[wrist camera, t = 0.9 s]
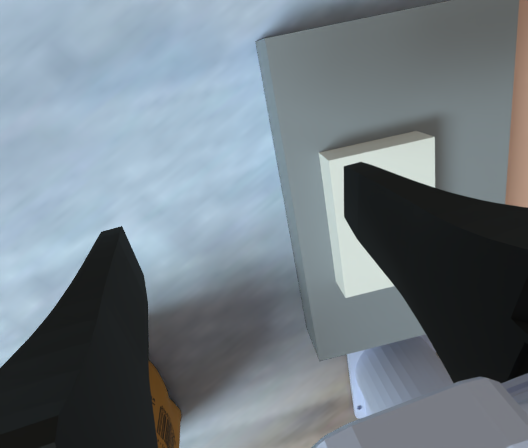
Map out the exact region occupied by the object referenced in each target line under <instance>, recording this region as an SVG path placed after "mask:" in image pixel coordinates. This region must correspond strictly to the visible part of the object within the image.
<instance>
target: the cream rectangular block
mask: <svg viewBox="0 0 528 448" xmlns="http://www.w3.org/2000/svg"><path fill="white" fill-rule="evenodd" d="M319 158H320V166H321V174H322V181H323V189H324V196H325V204H326V211H327V219H328V226H329V234H330V241H331V249H332V256H333V264H334V271H335V279H336V283H337V284H338V286H339V288H340V289H341V291H342V293H343V294H344V296H345V298H348V297H352V296H356V295H360V294H364V293H368V292H372V291H376V290H380V289H385V288H389V287H393V286H394V285H393V283H392V282H391V281H390V280H389V278H388V277H387V276H386V275H385V273H384V272H383V271H382V270H381V269H380V267H379V266H378V265H377V264H376V262H375V261H374V260H373V259H372V257H371V256H370V255H369V254H368V252H367V251H366V250H365V249H364V247H363V246H362V245H361V244H360V242H359V241H358V240H357V238H356V237H355V235H354V233H353V232H352V230H351V228H350V226H349V225H348V223H347V221H346V219H345V218H344V166H347V165H351V164H354V163H358V162H364V163H367V164H370V165H373V166H376V167H379V168H381V169H384V170H387V171H389V172H392V173H395V174H397V175H400V176H403V177H405V178H408V179H411V180H414V181H416V182H419V183H422V184H425V185H428V186H431V187H434V188H435V137H434V136H431V135H428V134H425V133H422V132H419V131H413V132H409V133H404V134H400V135H395V136H391V137H386V138H382V139H378V140H373V141H369V142H364V143H360V144H355V145H351V146H346V147H342V148H337V149H333V150H328V151H324V152H319Z"/></svg>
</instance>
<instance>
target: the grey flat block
mask: <svg viewBox="0 0 528 448" xmlns="http://www.w3.org/2000/svg"><path fill="white" fill-rule="evenodd" d="M518 11H519V0H449V1H444V2H439V3H435V4H430V5H425V6H420V7H415V8H410V9H405V10H401V11H396V12H391V13H386V14H381V15H376V16H371V17H366V18H362V19H357V20H352V21H347V22H342V23H337V24H332V25H328V26H323V27H318V28H313V29H308V30H303V31H298V32H294V33H289V34H284V35H279V36H274V37H269V38H265V39H262V40H259V41H256V47H257V53H258V59H259V64H260V70H261V75H262V81H263V87H264V92H265V98H266V103H267V109H268V114H269V120H270V126H271V131H272V137H273V142H274V148H275V154H276V159H277V165H278V170H279V176H280V182H281V187H282V193H283V198H284V204H285V209H286V215H287V221H288V226H289V232H290V237H291V243H292V249H293V254H294V260H295V265H296V271H297V277H298V282H299V288H300V293H301V299H302V304H303V310H304V316H305V321H306V327H307V330H308V332H309V335H310V338H311V340H312V343H313V345H314V348H315V351H316V353H317V356H318V358H319V361H323V360H327V359H331V358H335V357H338V356H342V355H346V354H350V353H354V352H358V351H362V350H366V349H370V348H374V347H378V346H382V345H386V344H390V343H394V342H397V341H401V340H405V339H409V338H413V337H417V336H421V335H425V334H426V333H425V332H424V330H423V328H422V327H421V325H420V323H419V322H418V320H417V318H416V317H415V315H414V314H413V312H412V311H411V309H410V308H409V306H408V304H407V303H406V301H405V300H404V298H403V297H402V295H401V294H400V293H399V291H398V290H397V288H396V287H395V286H393V287H389V288H385V289H380V290H376V291H372V292H368V293H364V294H360V295H356V296H352V297H348V298H345V296H344V294H343V293H342V291H341V289H340V288H339V286H338V284H337V283H336V279H335V271H334V264H333V256H332V249H331V241H330V234H329V226H328V219H327V211H326V204H325V196H324V189H323V181H322V174H321V166H320V158H319V152H324V151H328V150H333V149H337V148H342V147H346V146H351V145H355V144H360V143H364V142H369V141H373V140H378V139H382V138H386V137H391V136H395V135H400V134H404V133H409V132H413V131H419V132H422V133H425V134H428V135H431V136H434V137H435V188H438V189H441V190H444V191H447V192H451V193H455V194H458V195H462V196H467V197H471V198H475V199H479V200H484V201H489V202H494V203H500V204H505V198H506V183H507V169H508V155H509V140H510V126H511V112H512V97H513V83H514V69H515V54H516V40H517V26H518Z"/></svg>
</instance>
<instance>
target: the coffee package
mask: <svg viewBox="0 0 528 448" xmlns="http://www.w3.org/2000/svg"><path fill="white" fill-rule="evenodd" d="M149 381H150V389H151V398H152V406H153V414H154V421H155V428H156V435H157V443H158V448H179V441H180V421H181V411H180V409H179V408H178V407H177V406H176V405H175V403H174V402H173V401H172V400H171V399H170V398H169V397H168V391H167V389H166V386H165V384H164V382H163V380H162V378H161V376H160V374H159V373H158V371H157V369H156V368H155V367H154V365H153V364H152V363H151V362H150V361H149Z"/></svg>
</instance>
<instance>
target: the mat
mask: <svg viewBox="0 0 528 448" xmlns="http://www.w3.org/2000/svg"><path fill="white" fill-rule="evenodd" d="M505 204H507V205H513V206H519V207H527V208H528V0H519V11H518V26H517V40H516V54H515V69H514V83H513V97H512V112H511V126H510V140H509V155H508V169H507V183H506V198H505Z"/></svg>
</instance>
